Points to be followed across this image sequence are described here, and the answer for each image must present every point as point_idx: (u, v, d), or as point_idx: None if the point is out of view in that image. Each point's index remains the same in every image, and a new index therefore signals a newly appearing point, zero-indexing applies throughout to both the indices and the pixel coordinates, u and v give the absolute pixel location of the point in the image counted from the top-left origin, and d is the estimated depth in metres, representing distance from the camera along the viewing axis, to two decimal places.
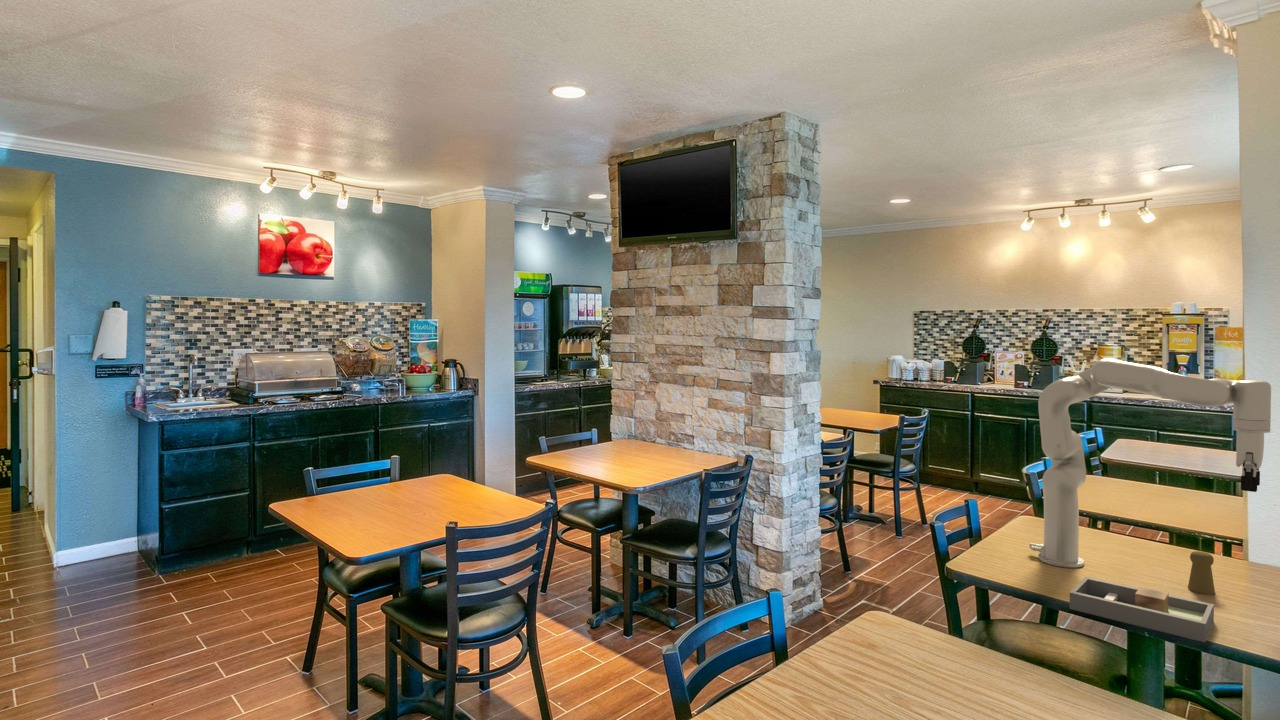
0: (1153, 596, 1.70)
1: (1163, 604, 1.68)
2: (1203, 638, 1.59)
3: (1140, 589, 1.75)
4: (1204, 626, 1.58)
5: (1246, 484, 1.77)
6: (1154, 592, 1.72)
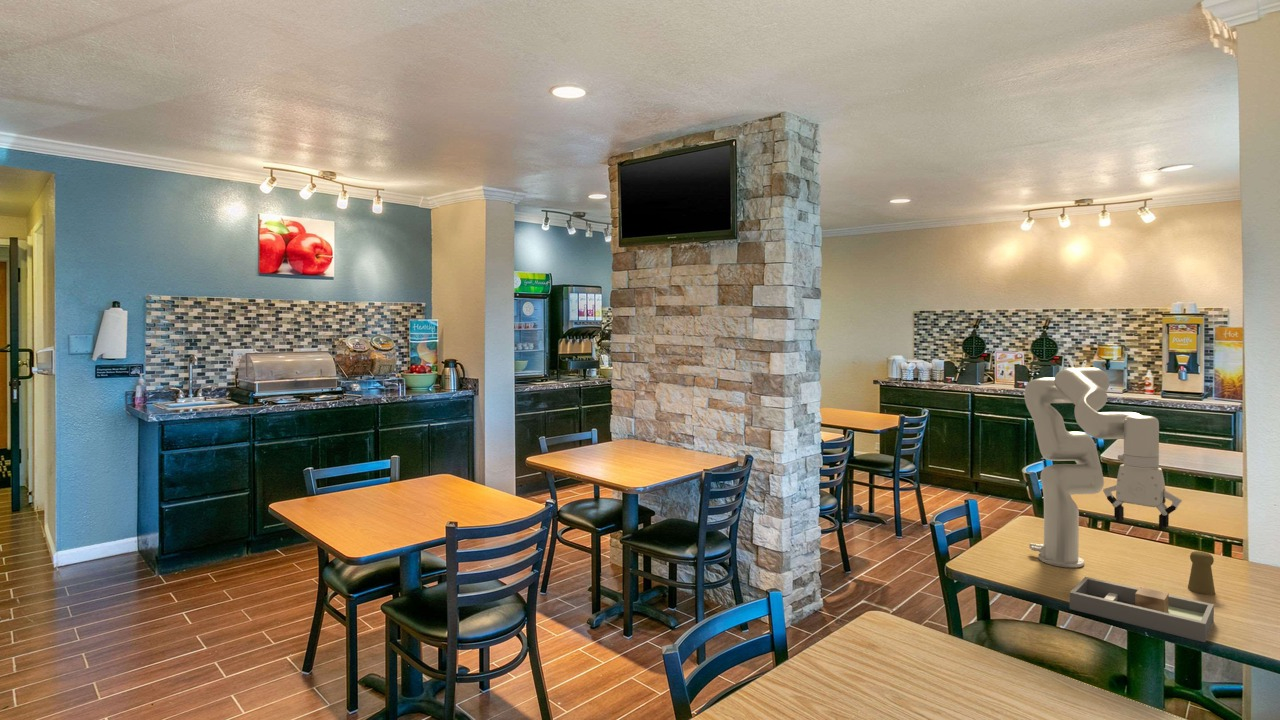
0: (1153, 596, 1.70)
1: (1163, 604, 1.68)
2: (1203, 638, 1.59)
3: (1140, 589, 1.75)
4: (1204, 626, 1.58)
5: (1166, 523, 1.73)
6: (1154, 592, 1.72)
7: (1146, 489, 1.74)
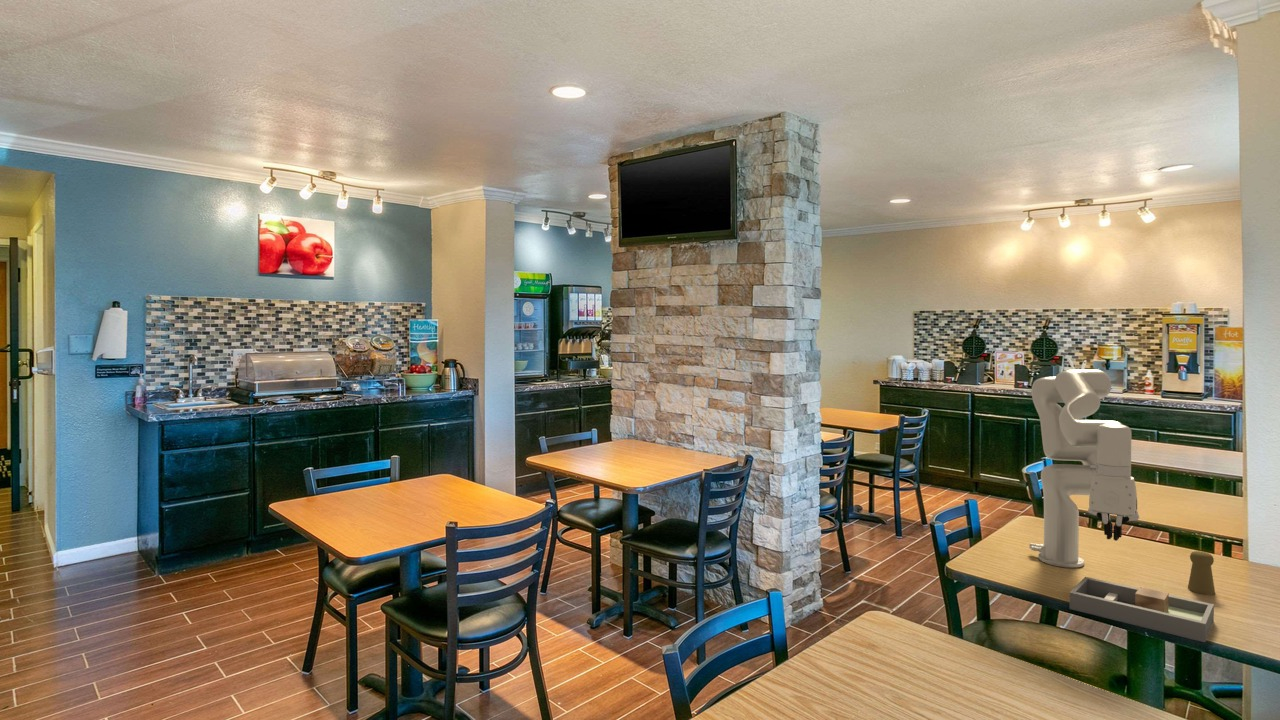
0: (1153, 596, 1.70)
1: (1163, 604, 1.68)
2: (1203, 638, 1.59)
3: (1140, 589, 1.75)
4: (1204, 626, 1.58)
5: (1120, 533, 1.76)
6: (1154, 592, 1.72)
7: (1120, 498, 1.74)
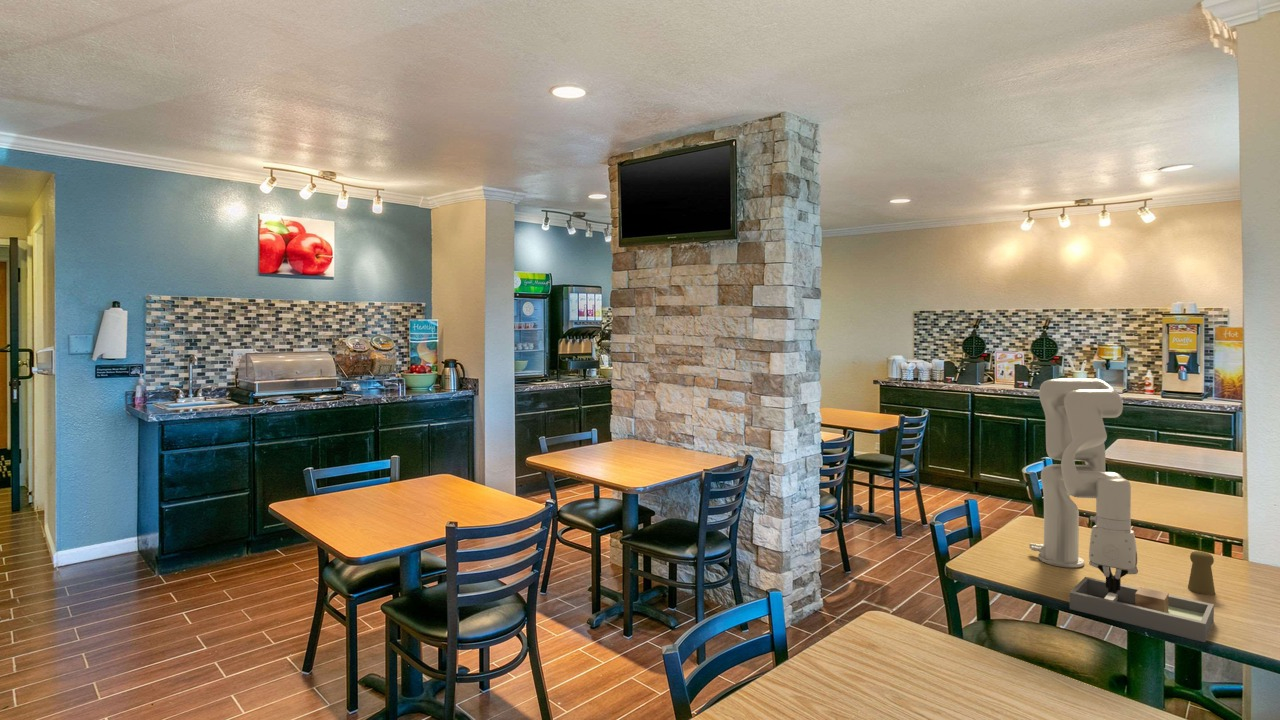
0: (1153, 596, 1.70)
1: (1163, 604, 1.68)
2: (1203, 638, 1.59)
3: (1140, 589, 1.75)
4: (1204, 626, 1.58)
5: (1119, 586, 1.76)
6: (1154, 592, 1.72)
7: (1120, 552, 1.74)
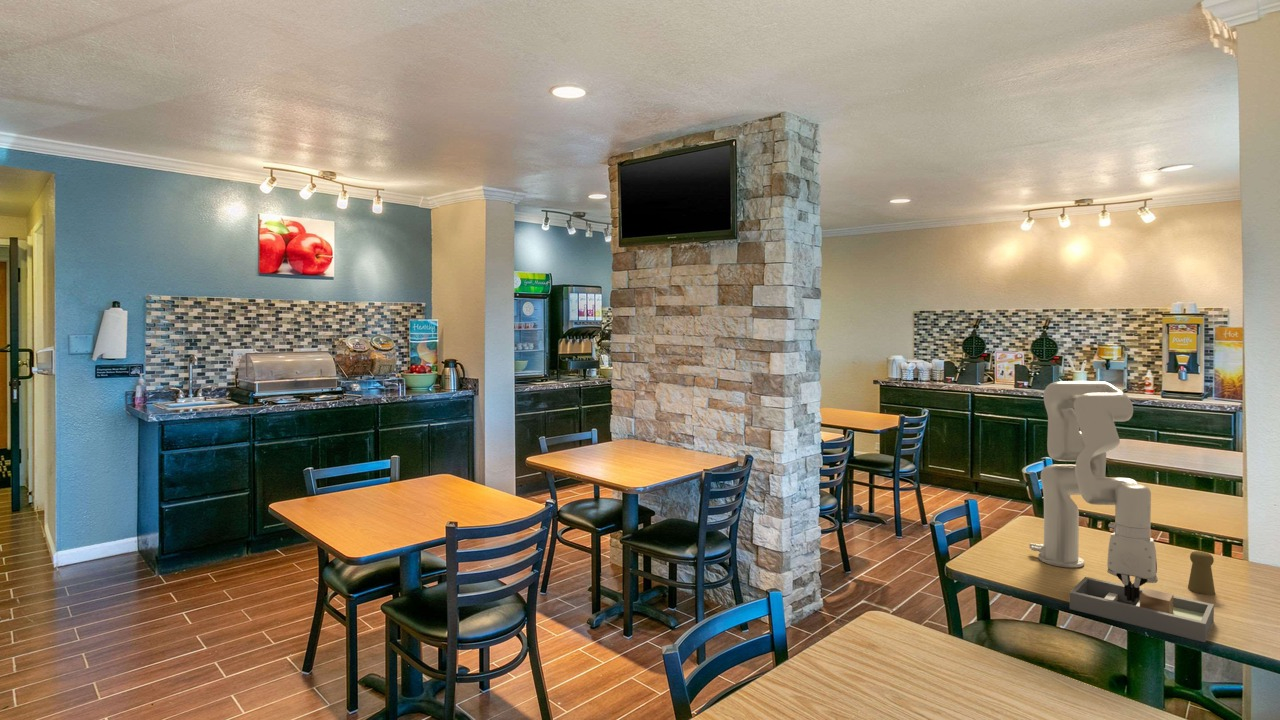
0: (1158, 598, 1.69)
1: (1168, 605, 1.67)
2: (1203, 638, 1.59)
3: (1145, 590, 1.74)
4: (1204, 626, 1.58)
5: (1138, 595, 1.74)
6: (1159, 593, 1.72)
7: (1139, 560, 1.71)
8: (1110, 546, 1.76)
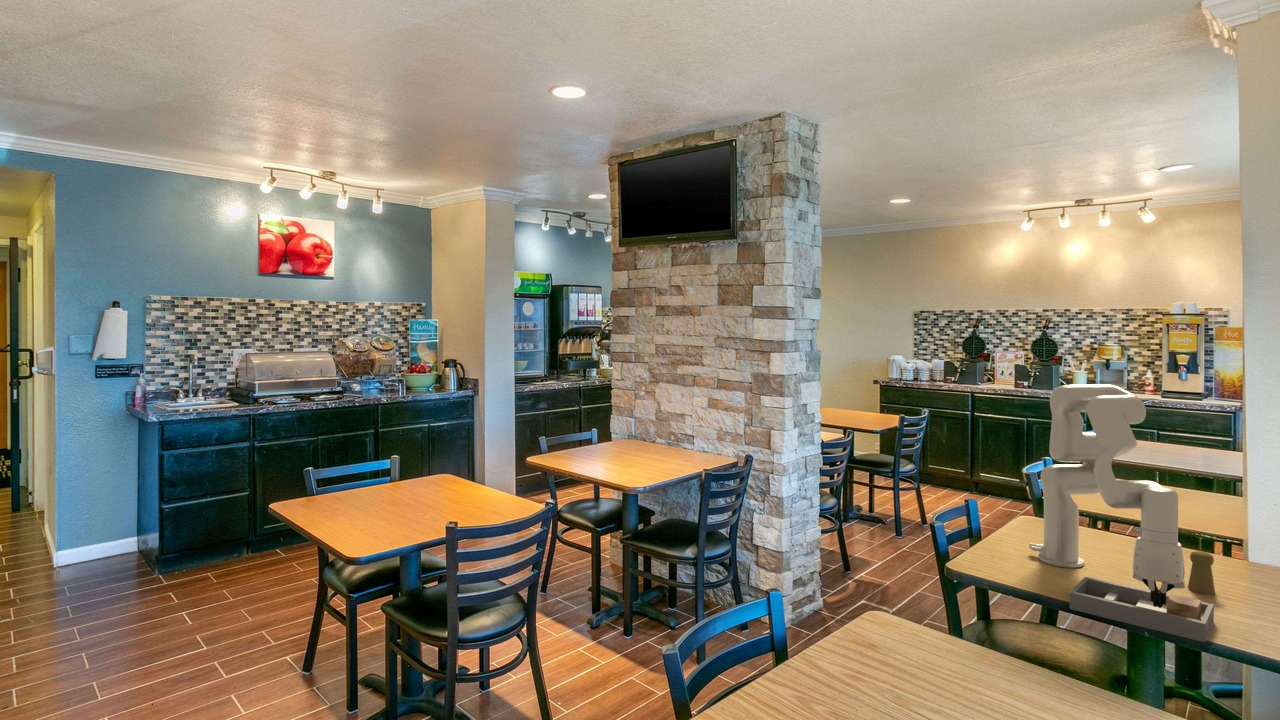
0: (1185, 604, 1.65)
1: (1196, 612, 1.63)
2: (1203, 638, 1.59)
3: (1171, 596, 1.70)
4: (1204, 626, 1.58)
5: (1165, 600, 1.70)
6: (1186, 599, 1.68)
7: (1167, 566, 1.67)
8: (1136, 551, 1.72)
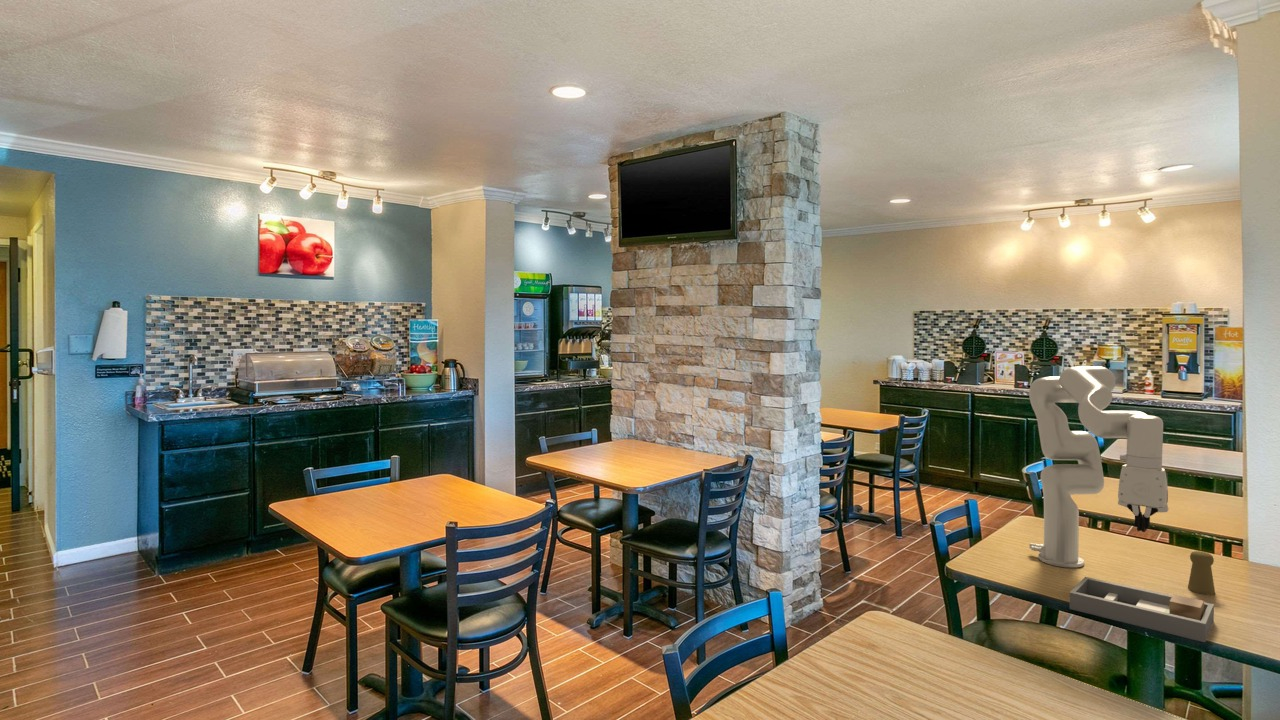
0: (1188, 604, 1.65)
1: (1199, 612, 1.63)
2: (1203, 638, 1.59)
3: (1174, 596, 1.70)
4: (1204, 626, 1.58)
5: (1148, 524, 1.75)
6: (1189, 600, 1.67)
7: (1150, 490, 1.72)
8: (1121, 477, 1.77)
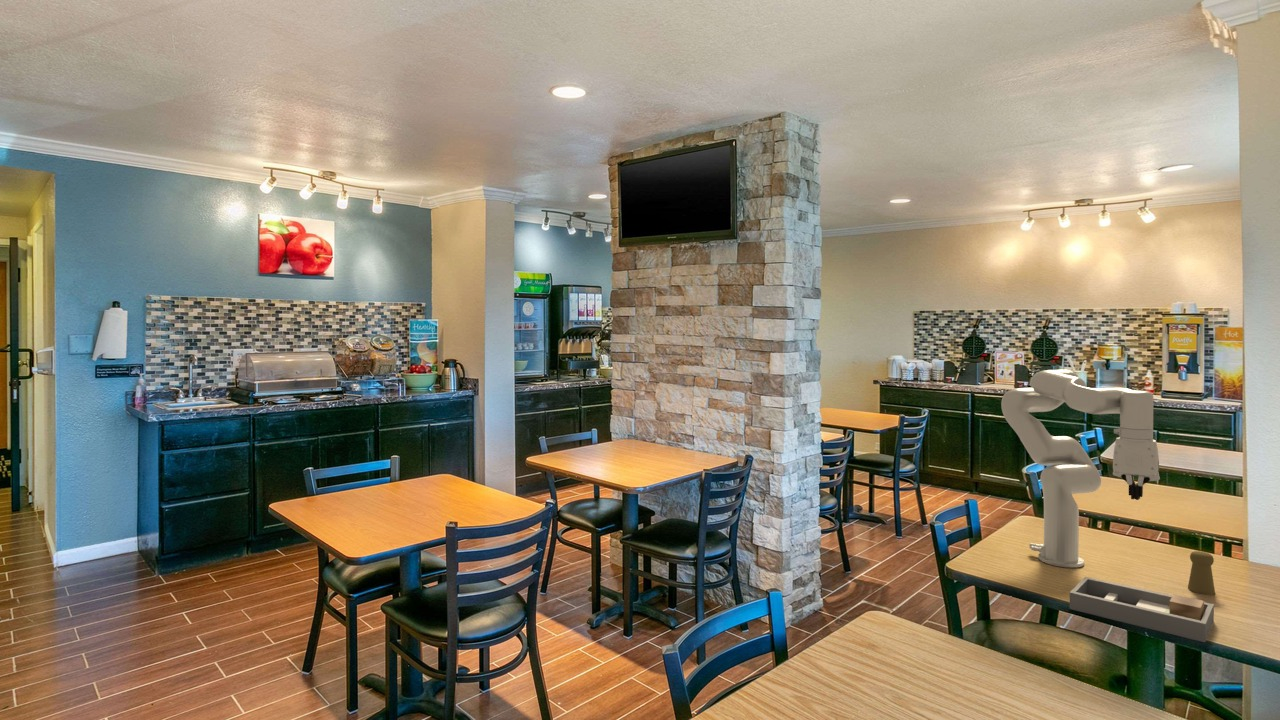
0: (1188, 604, 1.65)
1: (1199, 612, 1.63)
2: (1203, 638, 1.59)
3: (1174, 596, 1.70)
4: (1204, 626, 1.58)
5: (1141, 493, 1.86)
6: (1189, 600, 1.67)
7: (1143, 460, 1.84)
8: (1115, 449, 1.89)
